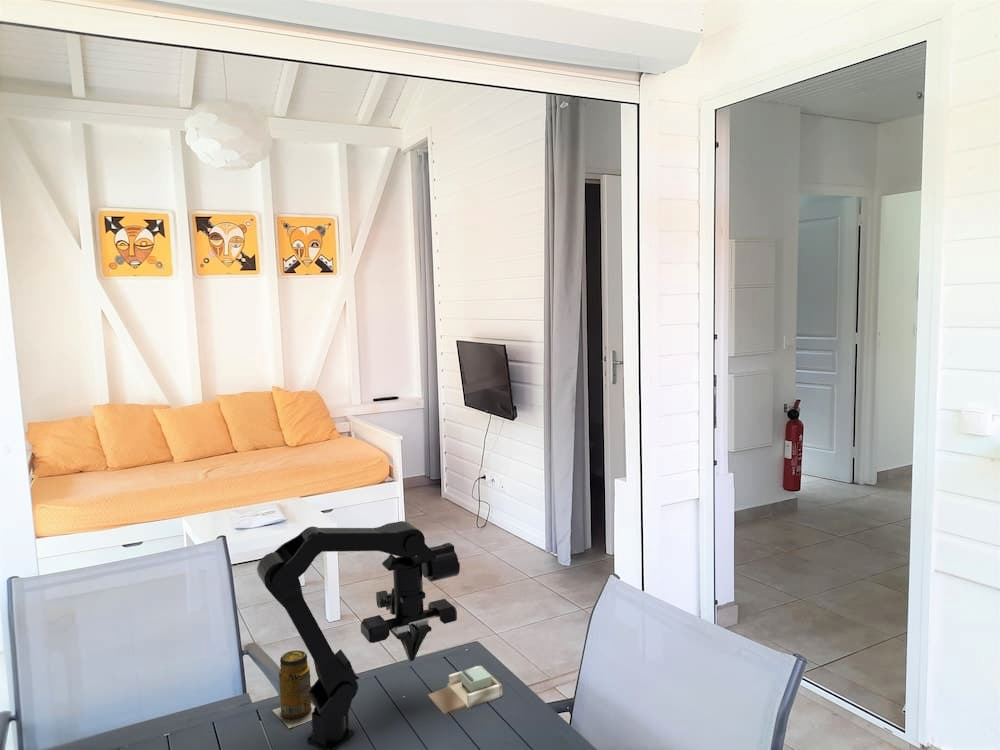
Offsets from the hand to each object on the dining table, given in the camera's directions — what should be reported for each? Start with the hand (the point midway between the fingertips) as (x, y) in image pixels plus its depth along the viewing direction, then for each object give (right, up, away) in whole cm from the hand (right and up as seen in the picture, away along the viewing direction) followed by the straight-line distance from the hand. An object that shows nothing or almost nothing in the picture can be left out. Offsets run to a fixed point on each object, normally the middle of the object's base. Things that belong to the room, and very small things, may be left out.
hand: (411, 660), depth 146 cm
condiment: (-23, -12, +2) cm, 26 cm away
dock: (+10, -10, +7) cm, 16 cm away
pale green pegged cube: (+13, -9, +8) cm, 18 cm away
